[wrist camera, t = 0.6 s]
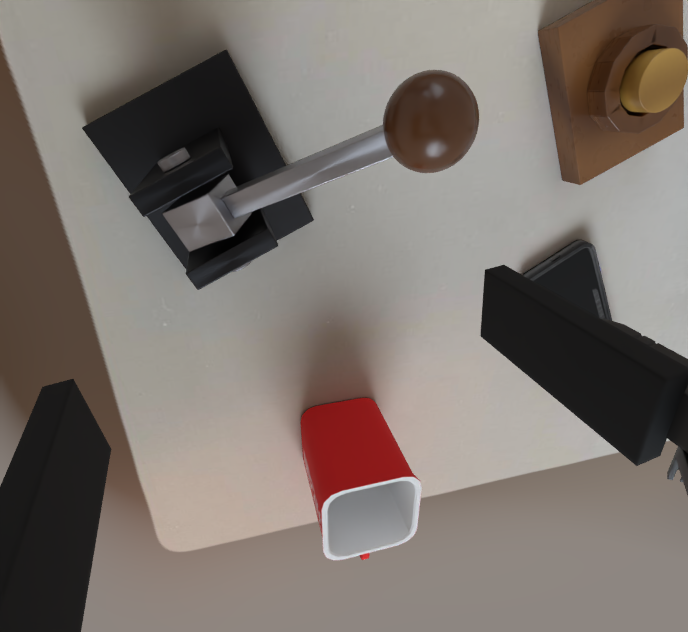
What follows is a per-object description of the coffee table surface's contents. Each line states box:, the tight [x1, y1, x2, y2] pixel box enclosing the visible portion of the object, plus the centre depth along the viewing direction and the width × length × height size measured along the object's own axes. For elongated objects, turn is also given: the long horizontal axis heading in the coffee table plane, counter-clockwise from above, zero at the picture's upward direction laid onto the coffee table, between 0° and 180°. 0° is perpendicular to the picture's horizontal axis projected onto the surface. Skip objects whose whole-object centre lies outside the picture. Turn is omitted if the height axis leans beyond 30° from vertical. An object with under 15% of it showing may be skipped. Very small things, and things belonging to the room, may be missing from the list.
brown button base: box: [538, 0, 688, 185], centre depth 33 cm, size 12×10×4 cm
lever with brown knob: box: [162, 70, 479, 252], centre depth 19 cm, size 14×4×4 cm, turn 115°
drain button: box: [620, 48, 688, 113], centre depth 31 cm, size 4×4×2 cm
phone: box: [523, 240, 612, 321], centre depth 44 cm, size 8×1×15 cm
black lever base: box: [82, 50, 314, 290], centre depth 25 cm, size 10×12×13 cm
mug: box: [301, 398, 422, 560], centre depth 40 cm, size 12×8×11 cm
